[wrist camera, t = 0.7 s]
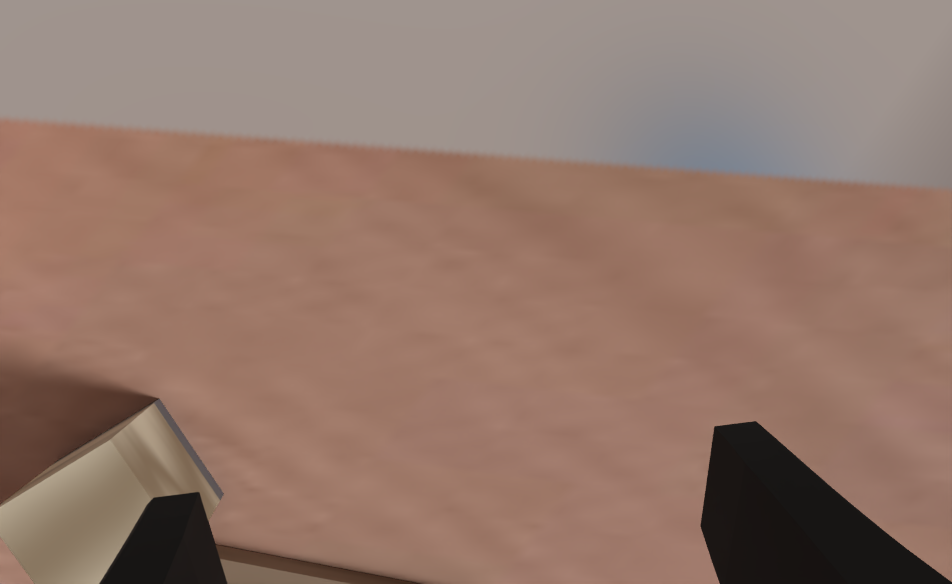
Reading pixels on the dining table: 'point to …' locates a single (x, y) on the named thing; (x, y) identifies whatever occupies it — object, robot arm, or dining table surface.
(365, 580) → the collar board
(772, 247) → the dining table surface
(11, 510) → the sleeve block
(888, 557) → the robot arm
